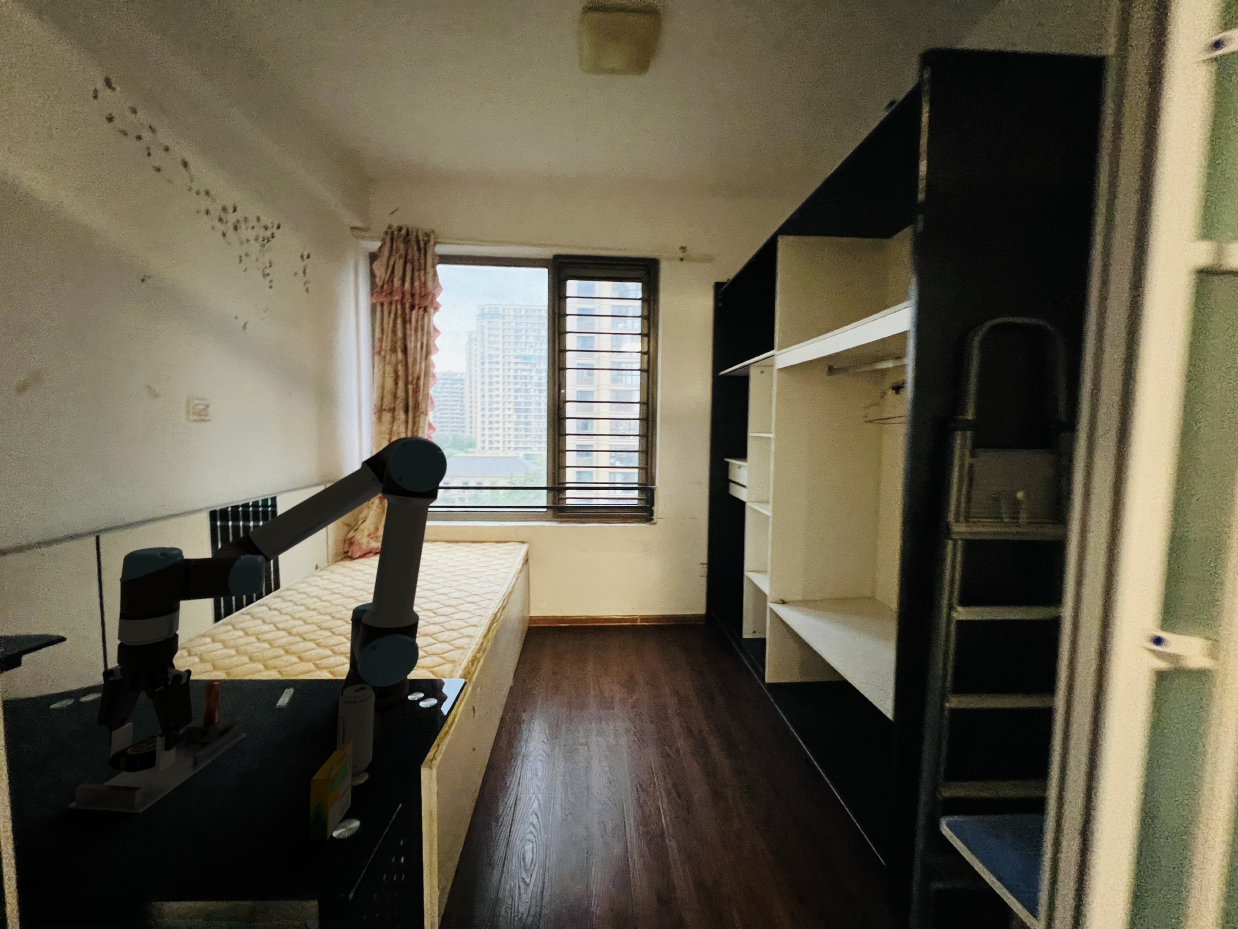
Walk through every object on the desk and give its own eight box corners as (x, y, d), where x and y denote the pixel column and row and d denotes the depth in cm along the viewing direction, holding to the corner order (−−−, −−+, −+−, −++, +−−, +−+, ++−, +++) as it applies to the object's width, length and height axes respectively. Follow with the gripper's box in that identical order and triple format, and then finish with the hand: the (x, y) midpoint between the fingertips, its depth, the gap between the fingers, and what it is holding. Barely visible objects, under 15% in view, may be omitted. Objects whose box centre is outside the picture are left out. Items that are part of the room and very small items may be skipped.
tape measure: (154, 750, 85) (156, 730, 85) (183, 757, 84) (184, 736, 84) (107, 773, 78) (108, 751, 79) (136, 781, 77) (138, 759, 77)
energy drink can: (330, 767, 88) (333, 690, 87) (363, 752, 92) (366, 679, 92) (343, 782, 84) (347, 701, 84) (377, 766, 89) (381, 689, 89)
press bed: (247, 735, 96) (247, 719, 96) (139, 813, 75) (140, 792, 75) (191, 731, 96) (191, 715, 96) (68, 808, 75) (69, 787, 75)
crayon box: (333, 805, 79) (336, 738, 78) (351, 805, 79) (354, 738, 79) (307, 841, 71) (310, 767, 71) (327, 840, 72) (330, 767, 71)
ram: (235, 731, 96) (237, 679, 96) (213, 746, 91) (215, 692, 90) (202, 729, 96) (205, 677, 96) (178, 744, 91) (180, 689, 91)
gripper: (224, 632, 84) (218, 756, 84) (117, 625, 84) (111, 747, 85) (184, 649, 76) (178, 784, 77) (67, 641, 77) (61, 775, 77)
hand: (143, 765), depth 81 cm, fingers closed on tape measure, 7 cm apart
